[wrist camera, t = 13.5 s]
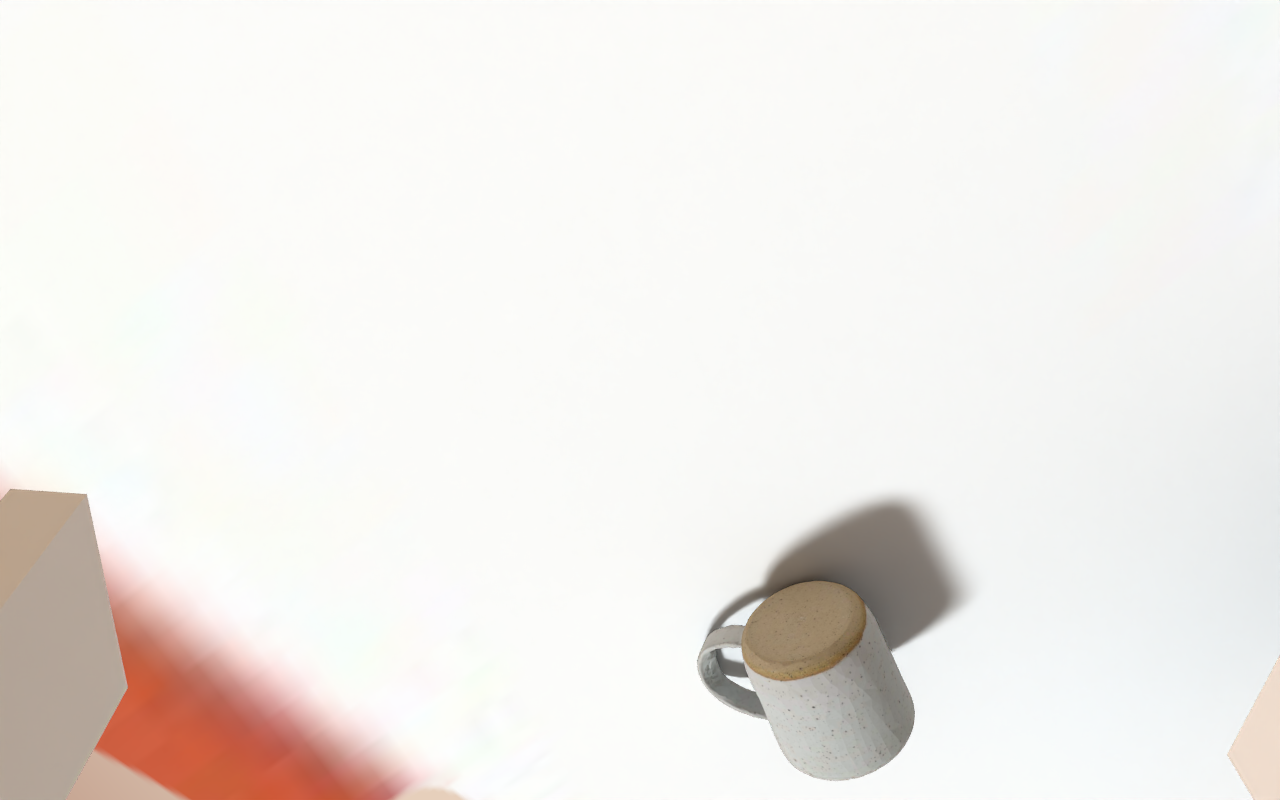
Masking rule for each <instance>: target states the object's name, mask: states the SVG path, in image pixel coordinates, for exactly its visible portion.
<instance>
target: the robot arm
mask: <svg viewBox="0 0 1280 800" xmlns="http://www.w3.org/2000/svg"><path fill="white" fill-rule="evenodd" d="M127 688H128V686H127V682H126V677H125V672H124V668H123V663H122V658H121V653H120V649H119V644H118V639H117V635H116V630H115V625H114V620H113V616H112V611H111V606H110V602H109V597H108V592H107V587H106V583H105V578H104V573H103V569H102V564H101V559H100V554H99V550H98V545H97V540H96V536H95V531H94V526H93V522H92V517H91V512H90V507H89V503H88V498H87V494H75V493H61V492H46V491H32V490H17V489H10V490H9V491H8V493H7V494H6V495H5V496H4V497H3V498H2V500H1V501H0V800H66V799H67V797H68V795H69V794H70V792H71V790H72V788H73V786H74V784H75V783H76V781H77V779H78V777H79V775H80V774H81V772H82V770H83V768H84V766H85V764H86V763H87V761H88V759H89V757H90V755H91V754H92V752H93V750H94V748H95V746H96V744H97V743H98V741H99V739H100V737H101V735H102V734H103V732H104V730H105V728H106V726H107V724H108V723H109V721H110V719H111V717H112V715H113V714H114V712H115V710H116V708H117V706H118V704H119V703H120V701H121V699H122V697H123V695H124V693H125V692H126V690H127ZM1227 756H1228V757H1229V759H1230V761H1231V762H1232V764H1233V766H1234V767H1235V769H1236V771H1237V772H1238V774H1239V776H1240V777H1241V779H1242V781H1243V783H1244V784H1245V786H1246V788H1247V789H1248V791H1249V793H1250V794H1251V796H1252V798H1253V799H1254V800H1280V656H1279V658H1278V660H1277V661H1276V663H1275V665H1274V667H1273V669H1272V671H1271V673H1270V675H1269V677H1268V678H1267V680H1266V682H1265V684H1264V686H1263V688H1262V690H1261V692H1260V694H1259V695H1258V697H1257V699H1256V701H1255V703H1254V705H1253V707H1252V709H1251V711H1250V712H1249V714H1248V716H1247V718H1246V720H1245V722H1244V724H1243V726H1242V727H1241V729H1240V731H1239V733H1238V735H1237V737H1236V739H1235V741H1234V743H1233V744H1232V746H1231V748H1230V750H1229V752H1228V754H1227Z"/></svg>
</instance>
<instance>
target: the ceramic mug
mask: <svg viewBox="0 0 1280 800" xmlns="http://www.w3.org/2000/svg"><path fill="white" fill-rule="evenodd" d="M726 647H730V648H736V647H739V648H742V655H743V660H744V664H745V669H746V671H747V674H748V677H749V679H750V681H751V684H752V686H753V688H754V690H755V692H754V691H751V690H748V689H745V688H743V687H741V686H739V685H738V684H736V683H734V682H733V681H731V680H729V679H728V678H727V677H726V676H725V675H724V674H723V673H722V671H721V669H720V666H719V664H718V661H717V659H716V654H717V652H716V649H719V648H726ZM697 667H698V672H699V675H700V678H701V680H702V682H703V684H704V685H705V687H706V688H707V689H708V690H709V692H710V693H711V694H712V695H713V696H714V697H716V698H717V699H718V700H719V701H721V702H722V703H724V704H725V705H727V706H729V707H731V708H733V709H734V710H736V711H739V712H741V713H744V714H747V715H750V716H752V717H756V718H761V719H766V720H768V721H769V723H770V725H771V728H772V730H773V732H774V735H775V737H776V739H777V742H778V744H779V746H780V748H781V750H782V752H783V754H784V755H785V757H786V758H787V759H788V761H789V762H790V763H791V764H792V765H793V766H794V767H795V768H796V769H798V770H799V771H801V772H803V773H805V774H807V775H809V776H811V777H814V778H819V779H824V780H830V781H841V780H848V779H853V778H858V777H862V776H864V775H867V774H869V773H872V772H874V771H876V770H877V769H879V768H881V767H883V766H884V765H886V764H887V763H889V762H890V761H891V760H892V759H893V758H894V757H895V756H896V755H897V754H898V753H899V752H900V751H901V750H902V748H903V747H904V746H905V744H906V742H907V740H908V739H909V736H910V734H911V732H912V729H913V725H914V717H915V711H914V705H913V701H912V697H911V695H910V693H909V691H908V688H907V686H906V684H905V682H904V680H903V678H902V676H901V674H900V671H899V669H898V667H897V665H896V663H895V660H894V658H893V656H892V654H891V652H890V650H889V648H888V646H887V644H886V642H885V639H884V637H883V635H882V633H881V630H880V628H879V626H878V624H877V621H876V619H875V617H874V616H873V614H872V612H871V611H870V609H869V608H868V607H867V605H866V604H865V602H864V601H863V600H862V599H861V598H860V597H859V596H858V594H857V593H855V592H854V591H853V590H851V589H850V588H848V587H846V586H844V585H841V584H838V583H834V582H828V581H810V582H803V583H798V584H795V585H791V586H789V587H787V588H785V589H782V590H780V591H778V592H776V593H775V594H773V595H772V596H770V597H769V598H767V599H766V600H765V601H764V602H763V603H762V604H761V605H760V606H759V607H758V608H757V609H756V610H755V611H754V612H753V613H752V615H751V616H750V618H749V619H748V622H747V624H746V626H742V625H730V626H727V627H723V628H720V629H716V630H714V631H713V632H712V633H710V634H709V635H708V637H707V638H706V640H705V642H704V644H703V647H702V649H701V651H700V653H699V656H698V660H697Z"/></svg>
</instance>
